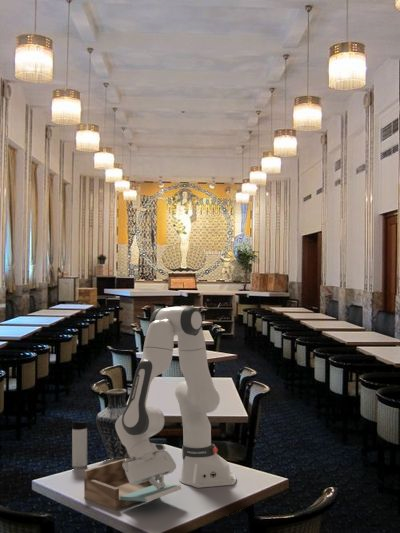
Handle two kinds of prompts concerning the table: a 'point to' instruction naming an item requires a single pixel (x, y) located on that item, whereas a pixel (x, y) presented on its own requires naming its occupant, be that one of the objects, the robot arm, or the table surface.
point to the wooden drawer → (110, 485)
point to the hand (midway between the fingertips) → (161, 488)
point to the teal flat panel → (150, 493)
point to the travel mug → (79, 444)
